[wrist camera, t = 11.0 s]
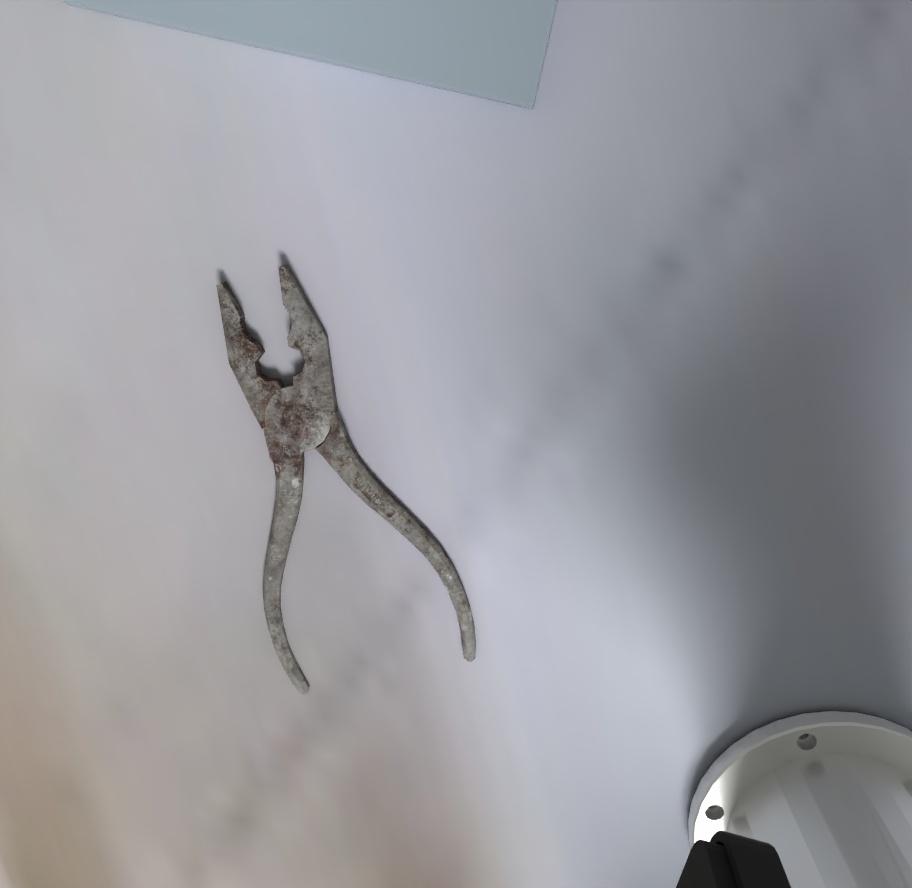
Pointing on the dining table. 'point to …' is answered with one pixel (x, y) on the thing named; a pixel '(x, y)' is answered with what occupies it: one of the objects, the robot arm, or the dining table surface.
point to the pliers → (305, 427)
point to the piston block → (379, 36)
